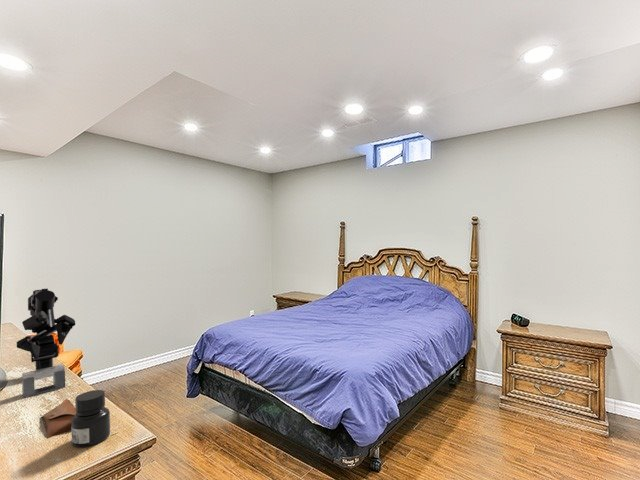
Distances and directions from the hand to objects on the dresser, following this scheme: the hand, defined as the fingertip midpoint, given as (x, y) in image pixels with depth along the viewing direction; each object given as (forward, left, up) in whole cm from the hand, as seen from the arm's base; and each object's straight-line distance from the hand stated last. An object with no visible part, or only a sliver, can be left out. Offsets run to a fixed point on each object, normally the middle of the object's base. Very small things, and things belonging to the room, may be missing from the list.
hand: (48, 351), depth 128 cm
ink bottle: (+48, +3, -15) cm, 51 cm away
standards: (-3, -1, -15) cm, 15 cm away
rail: (-3, -1, -10) cm, 10 cm away
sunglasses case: (+30, -1, -15) cm, 34 cm away
